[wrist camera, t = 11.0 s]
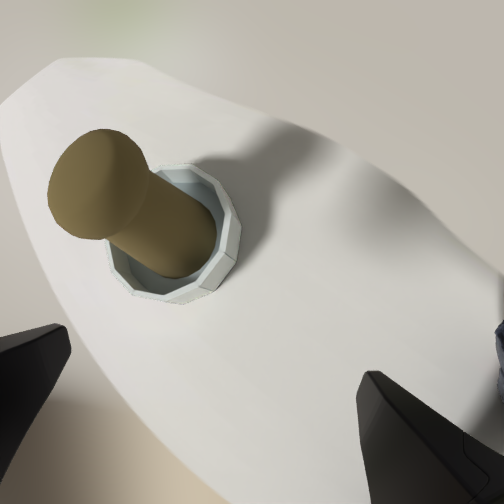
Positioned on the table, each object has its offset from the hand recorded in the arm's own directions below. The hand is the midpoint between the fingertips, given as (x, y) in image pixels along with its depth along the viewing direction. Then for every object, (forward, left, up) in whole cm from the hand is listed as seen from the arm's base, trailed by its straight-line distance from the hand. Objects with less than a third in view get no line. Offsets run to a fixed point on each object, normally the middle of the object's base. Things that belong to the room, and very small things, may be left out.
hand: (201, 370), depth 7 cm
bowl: (+6, +7, -12) cm, 15 cm away
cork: (+6, +7, -11) cm, 15 cm away
